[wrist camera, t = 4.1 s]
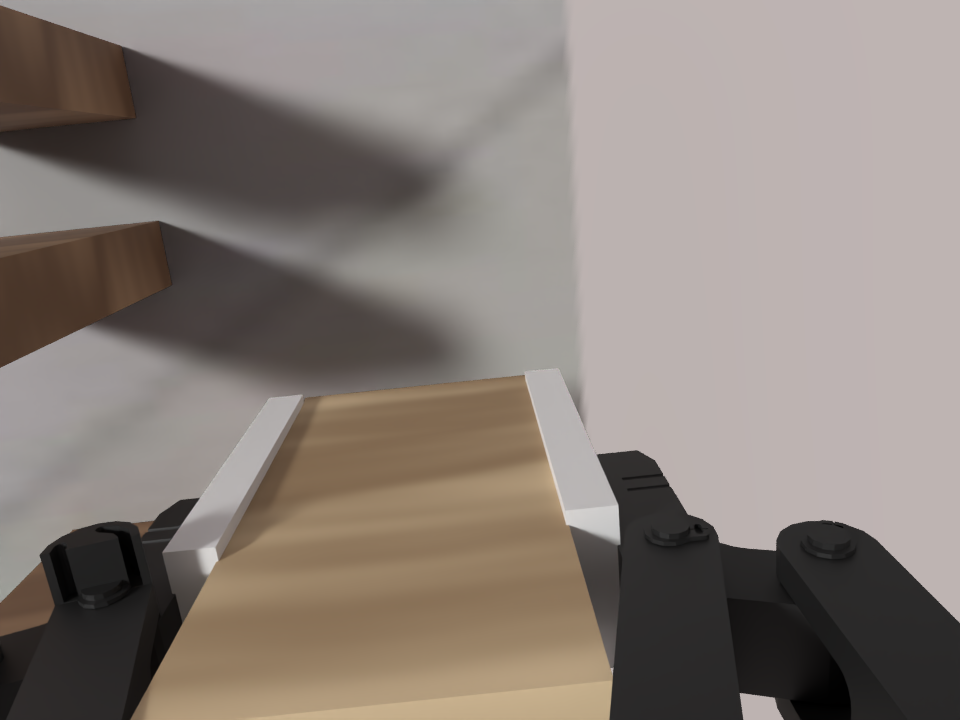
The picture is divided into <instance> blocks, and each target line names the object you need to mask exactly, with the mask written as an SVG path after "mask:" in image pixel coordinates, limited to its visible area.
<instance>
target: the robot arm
mask: <svg viewBox="0 0 960 720" xmlns="http://www.w3.org/2000/svg"><path fill="white" fill-rule="evenodd" d="M525 380H526V383H527V387H528V391H529V394H530V398H531V401H532V405H533V408H534V412H535V415H536V419H537V423H538V426H539V430H540V433H541V437H542V440H543V444H544V447H545V451H546V455H547V458H548V462H549V465H550V469H551V472H552V476H553V480H554V483H555V487H556V490H557V494H558V497H559V501H560V504H561V508H562V512H563V515H564V519H565V522H566V525H569V527H570V531H571V534H572V538H573V541H574V544H575V548H576V551H577V555H578V558H579V562H580V565H581V569H582V572H583V575H584V579H585V582H586V586H587V589H588V593H589V596H590V600H591V603H592V607H593V610H594V613H595V617H596V620H597V624H598V627H599V631H600V634H601V638H602V641H603V644H604V648H605V651H606V655H607V658H608V662H609V665H610V668H613V667H614V670H613V681H612V693H611V706H610V718H609V720H743V715H742V707H741V700H740V693H746V694H752V695H760V696H767V697H774V698H775V700H776V704H777V708H778V710H779V712H780V714H781V715H782V717H783V719H784V720H960V623H959V622H958V621H957V620H956V619H955V618H954V617H953V616H952V615H951V614H950V613H949V612H948V611H947V610H946V609H945V608H944V607H943V606H942V605H941V604H940V603H939V602H938V601H937V600H936V599H935V598H934V597H933V596H932V595H931V594H930V593H929V592H928V591H927V590H926V589H925V588H924V587H923V586H922V585H921V584H920V583H919V582H918V581H917V580H916V579H915V578H914V577H913V576H912V575H911V574H910V573H909V572H908V571H907V570H906V569H905V568H904V567H903V566H902V565H901V564H900V563H899V562H898V561H897V560H896V559H895V558H894V557H893V556H892V555H891V554H890V553H889V552H888V551H887V550H886V549H885V548H884V547H883V546H882V545H881V544H880V543H879V542H878V541H877V540H876V539H874V538H873V537H871V536H870V535H868V534H867V533H865V532H864V531H862V530H859V529H856V528H854V527H851V526H848V525H846V524H843V523H839V522H835V523H833V522H832V521H825V520H822V521H807V522H802V523H798V524H792V525H790V526H788V527H787V528H785V529H783V530H782V531H781V532H780V534H779V536H778V538H777V543H776V544H777V545H776V546H777V547H776V551H771V550H758V549H747V548H739V547H733V546H729V545H726V544H722V543H719V540H718V535H717V533H716V531H715V529H714V527H713V526H711V525H710V524H709V523H707V522H705V521H704V520H703V519H700V518H697V517H694V516H691V515H688V514H687V513H686V511H685V509H684V508H683V506H682V504H681V503H680V501H679V499H678V498H677V496H676V494H675V493H674V491H673V489H672V488H671V487H670V486H669V483H668V482H667V480H666V478H665V477H664V476H663V473H662V471H661V470H660V468H659V467H658V465H657V463H656V462H655V460H653V459H651V458H649V457H648V456H646V455H644V454H643V453H641V452H639V451H627V452H617V453H607V454H598V455H596V453H595V451H594V448H593V446H592V444H591V441H590V439H589V437H588V435H587V432H586V430H585V428H584V425H583V423H582V421H581V418H580V416H579V414H578V412H577V409H576V407H575V405H574V402H573V400H572V398H571V396H570V393H569V391H568V389H567V386H566V384H565V382H564V380H563V377H562V375H561V373H560V370H559V368H553V369H544V370H534V371H525ZM303 404H304V398H303V395H294V396H284V397H274V398H269V399H268V401H267V402H266V403H265V405H264V406H263V408H262V409H261V411H260V412H259V414H258V415H257V416H256V418H255V419H254V421H253V422H252V424H251V425H250V427H249V428H248V429H247V431H246V432H245V434H244V435H243V437H242V438H241V440H240V441H239V442H238V444H237V445H236V447H235V448H234V450H233V451H232V453H231V454H230V455H229V457H228V458H227V460H226V461H225V463H224V464H223V466H222V467H221V468H220V470H219V471H218V473H217V474H216V476H215V477H214V479H213V480H212V481H211V483H210V484H209V486H208V487H207V489H206V490H205V492H204V493H203V494H202V496H201V497H200V498H195V499H186V500H180V501H178V502H177V503H175V504H174V505H172V506H171V507H170V508H168V509H167V510H165V511H164V512H162V513H161V514H159V516H158V517H157V518H156V519H155V521H154V522H153V523H152V525H151V526H150V527H149V529H148V532H145V534H144V535H143V536H142V538H141V536H140V532H139V528H138V526H136V525H134V524H132V523H130V522H119V521H114V522H107V523H99V524H95V525H92V526H88V527H85V528H81V529H78V530H76V531H74V532H71V533H69V534H67V535H65V536H62V537H61V538H59V539H58V540H56V541H54V542H53V543H51V544H50V545H48V546H47V547H46V548H45V550H44V551H43V552H42V553H41V554H40V558H41V561H42V565H43V568H44V571H45V575H46V578H47V581H48V585H49V588H50V591H51V595H52V598H53V601H54V605H55V606H54V609H53V611H52V613H51V616H50V618H49V620H48V623H45V624H42V625H39V626H36V627H32V628H29V629H25V630H22V631H18V632H14V633H11V634H7V635H4V636H0V720H130V719H131V718H132V716H133V714H134V712H135V710H136V708H137V707H138V705H139V703H140V701H141V699H142V697H143V696H144V694H145V692H146V690H147V688H148V686H149V685H150V683H151V681H152V679H153V677H154V675H155V674H156V672H157V670H158V668H159V666H160V664H161V663H162V661H163V659H164V657H165V655H166V653H167V651H168V650H169V648H170V646H171V644H172V642H173V640H174V639H175V637H176V635H177V633H178V631H179V629H180V628H181V626H182V624H183V622H184V620H185V618H186V617H187V615H188V613H189V611H190V609H191V607H192V606H193V604H194V602H195V600H196V598H197V596H198V595H199V593H200V591H201V589H202V587H203V585H204V584H205V582H206V580H207V578H208V576H209V574H210V573H211V571H212V569H213V567H214V565H215V563H216V562H217V561H219V560H220V558H221V556H222V554H223V552H224V550H225V548H226V547H227V545H228V543H229V541H230V539H231V537H232V535H233V534H234V532H235V530H236V528H237V526H238V524H239V523H240V521H241V519H242V517H243V515H244V513H245V511H246V510H247V508H248V506H249V504H250V502H251V500H252V498H253V497H254V495H255V493H256V491H257V489H258V487H259V486H260V484H261V482H262V480H263V478H264V476H265V474H266V473H267V471H268V469H269V467H270V465H271V463H272V461H273V460H274V458H275V456H276V454H277V452H278V450H279V448H280V447H281V445H282V443H283V441H284V439H285V437H286V436H287V434H288V432H289V430H290V428H291V426H292V424H293V423H294V421H295V419H296V417H297V415H298V413H299V411H300V410H301V408H302V406H303Z"/></svg>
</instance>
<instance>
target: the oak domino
mask: <svg viewBox="0 0 960 720" xmlns="http://www.w3.org/2000/svg"><path fill="white" fill-rule="evenodd" d="M612 681H613V675H612V672H611V669H610V665H609V662H608V658H607V655H606V651H605V648H604V644H603V641H602V638H601V634H600V631H599V627H598V624H597V620H596V617H595V613H594V610H593V607H592V603H591V600H590V596H589V593H588V589H587V586H586V582H585V579H584V575H583V572H582V569H581V565H580V562H579V558H578V555H577V551H576V548H575V544H574V541H573V538H572V534H571V531H570V527H569V525H566V522H565V519H564V515H563V512H562V508H561V504H560V501H559V497H558V494H557V490H556V487H555V483H554V480H553V476H552V472H551V469H550V465H549V462H548V458H547V455H546V451H545V447H544V444H543V440H542V437H541V433H540V430H539V426H538V423H537V419H536V415H535V412H534V408H533V405H532V401H531V398H530V394H529V391H528V387H527V383H526V380H525V375H521V376H511V377H502V378H492V379H482V380H473V381H463V382H453V383H444V384H434V385H424V386H414V387H405V388H395V389H385V390H376V391H366V392H356V393H346V394H337V395H327V396H317V397H308V398H305V400H304V404H303V406H302V408H301V410H300V411H299V413H298V415H297V417H296V419H295V421H294V423H293V424H292V426H291V428H290V430H289V432H288V434H287V436H286V437H285V439H284V441H283V443H282V445H281V447H280V448H279V450H278V452H277V454H276V456H275V458H274V460H273V461H272V463H271V465H270V467H269V469H268V471H267V473H266V474H265V476H264V478H263V480H262V482H261V484H260V486H259V487H258V489H257V491H256V493H255V495H254V497H253V498H252V500H251V502H250V504H249V506H248V508H247V510H246V511H245V513H244V515H243V517H242V519H241V521H240V523H239V524H238V526H237V528H236V530H235V532H234V534H233V535H232V537H231V539H230V541H229V543H228V545H227V547H226V548H225V550H224V552H223V554H222V556H221V558H220V560H219V561H217V562H216V563H215V565H214V567H213V569H212V571H211V573H210V574H209V576H208V578H207V580H206V582H205V584H204V585H203V587H202V589H201V591H200V593H199V595H198V596H197V598H196V600H195V602H194V604H193V606H192V607H191V609H190V611H189V613H188V615H187V617H186V618H185V620H184V622H183V624H182V626H181V628H180V629H179V631H178V633H177V635H176V637H175V639H174V640H173V642H172V644H171V646H170V648H169V650H168V651H167V653H166V655H165V657H164V659H163V661H162V663H161V664H160V666H159V668H158V670H157V672H156V674H155V675H154V677H153V679H152V681H151V683H150V685H149V686H148V688H147V690H146V692H145V694H144V696H143V697H142V699H141V701H140V703H139V705H138V707H137V708H136V710H135V712H134V714H133V716H132V718H131V719H130V720H609V718H610V706H611V693H612Z"/></svg>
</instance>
